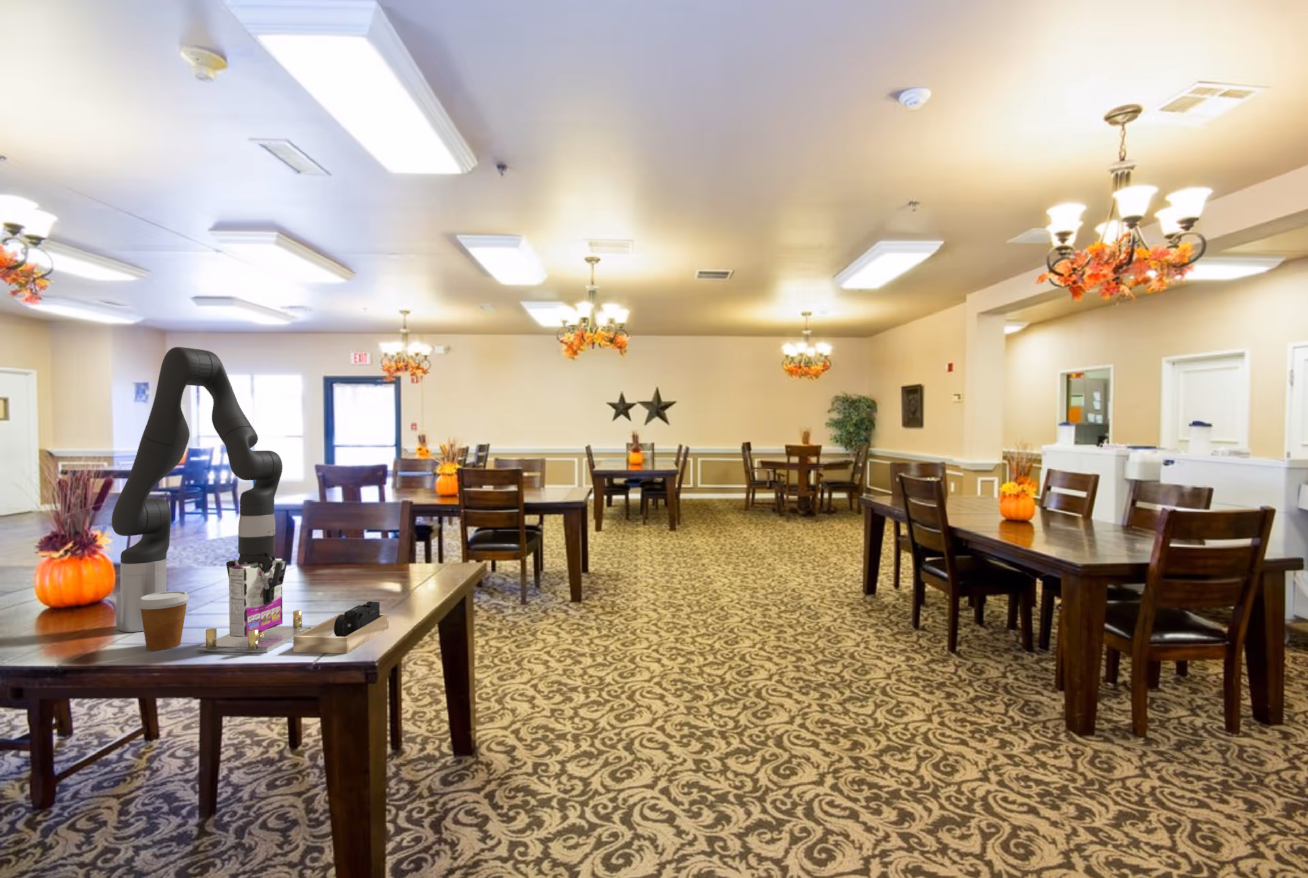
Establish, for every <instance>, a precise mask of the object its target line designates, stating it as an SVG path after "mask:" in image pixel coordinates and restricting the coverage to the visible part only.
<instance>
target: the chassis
mask: <svg viewBox="0 0 1308 878" xmlns="http://www.w3.org/2000/svg"><path fill="white" fill-rule="evenodd" d="M310 628H312V627H310V626H308V627H307V626H303V610H302V609H296V610H293V611H292V626H275V627H273V628H270V629H267V630H265V631H262V632H259V633H258V629H251V630H248V637H233V636H230V633H228V634H225V635H223V636H221V637H219V638H218V637H217V630H218V629H217V627H210V628H207V629H205V643H204V644H201V645H200V646H199V647H197V648H195V649H194V650H195V651H196V652H197V651H200V652H225V653H230V652H231V653H236V652H237V653H265V654H266V653H270V652H271V651H274V650H275V649H277V648H279V647H282V646H283V645H285V644H287V643H290V642H293V637H294V636H296V635H298V634H300V633H302V632H304V631H306V630H308V629H310Z"/></svg>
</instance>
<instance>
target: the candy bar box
mask: <svg viewBox="0 0 1308 878" xmlns="http://www.w3.org/2000/svg"><path fill="white" fill-rule="evenodd" d="M275 560H278V561H283V559H282V558H276V557H275ZM259 567H262V564H259V565H258V564H254V563H250V564H241V565H237V566H232V567H229V576H228V586H229V587H228V590H229V591H228V597H229V602H228V604H229V605H228V607H229V612H228V613H229V615H228V616H229V618H228V619H229V621H228V622H229V634H230V636H233V637H248V630H251V629H258V633H259V632H262V631H265V630H267V629H270V628H273V627H275V626H277V627H279V626H280V625H283V622H284V621H283V584H281V585H278V586H276V587H275V588H274V600H273V601H272V603H271V604H268V605H264V589H265V588H264V585H263V582H262V581H261V580H260V576H261V575H260V568H259ZM273 567H274V565H273V566H272V568H271V569H272V571H273V574H274V570H275V569H273ZM265 575H266V576H267V575H270V570H269V572H268V573H265ZM268 581H269V579H268Z"/></svg>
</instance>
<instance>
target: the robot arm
mask: <svg viewBox="0 0 1308 878" xmlns="http://www.w3.org/2000/svg"><path fill="white" fill-rule="evenodd" d="M187 386H196V387H203V388H204V389H206V390H207V392H208V393H209V394H210V396H211V398H212V400H213V401H212V402H213V403H212V411H211V422H212V425H213V428H214V430H215V432H216V433H217V435H218V437H219V438H220V439H221V441H222V443H223V444H224V446H225V449H226V454H227V457H228V463H229V467H230V469H231V471H232V473H233V475H234V476H236V477H237V478H238V479H240V480H242V481H255V483H254V485H253V487H252V488H249V489H247V490H244V491H243V492H242V493H241V494H240V496H239V519H238V520H239V521H238V527H237V528H238V529H237V530H238V533H237V535H238V537H237V539H238V541H237V543H238V544H237V549H238V551H237V554H239V556H238V559H231V560H229V561H226V563H225V564H226V565H225V566H226V570H227V576H228V577H229V567H232V566H237V565H241V564H250V563H254V564H258V565H259V564H262V567H259V568H260V575H261V576H260V580H261V581H262V582H263V585H264V588H265V589H264V605H268V604H271V603H272V601H273V600H274V588H275V587H276V586H278V585H281V584H282V585H283V583H284V580H285V574H286V569H287V565H288V561H286V560H282V561H278V560H275V558H276V557H275V556H274V555H275V551H276V519H275V495H276V493H277V491H278V487H279V483H280V480H281V478H282V473H283V462H282V459H281V456H280V455H279V454H278V453H277V452H275V451H273V450H252V448H254V446H255V445H257V443H258V441H259V438H258V434H257V432H256V430H255V429H254V427H253V426H252V424H251V423H250V421H249V419H248V418H247V417H246V414H244V411H243V410H242V408H241V406H240V404H239V402H238V400H237V397H236V394H235V392H234V389H233V386H232V384H231V381H230V379H229V376H228V374H227V371H226V369H225V366H224V365H223V363H222V361H221V359H220V357H219V356H218V355H217V354H216V353H214V351H213V352H212V351H210V350H205V349H199V348H191V347H183V346H175V347H172V348H170V349H169V350H168V351H167V352H166V354H165V356H164V357H163V360H162V363H161V366H160V371H159V375H158V381H157V385H156V390H155V395H154V399H153V403H152V406H151V409H150V413H149V417H148V419H147V422H146V424H145V428H144V430H143V433H142V436H141V438H140V441H139V445H138V448H137V451H136V455H135V459H134V461H133V464H132V467H131V470H130V472H129V475H128V477H127V479H126V482H125V484H124V486H123V487H122V489H121V492H120V495H119V497H118V499H117V501H116V503H115V505H114V508H113V511H112V514H111V515H112V516H111V527H112V530H113V532H115V534H117V535H118V536H121V537H135V536H141V535H142V536H141V538H140V539H139V541H138V542H136V543H134V545H132V546H130V547H128V548H126V549H124V550H123V551H122V552H120V568H119V569H120V576H119V577H120V584H119V587H120V588H119V589H120V591H117V592H116V595H115V596H116V601H115V603H116V610H115V613H116V614H115V615H116V616H115V618H116V619H115V627H116V628H115V630H116V631H117V630H118V631H120V632H124V633H128V632H129V633H134V632H135V633H136V632H144V628H143V622H142V615H141V609H140V608H139V606H138V603H139V602H140V599H141V597H143V596H146V595H149V594H154V593H160V592H167V555H168V554H167V552H168V550H169V548H170V543H171V542H170V540H171V527H172V511H171V507H170V504H169V503H168V501H166V499H164V498H161V497H149V495H150V494H151V491H153V489H154V488H155V486H156V485H157V484H158V483H159V482H160V481H161V480H163V478H165V477H166V476H168V475H169V473H170V472H172V471H173V470H174V469H175V468H176V467H177V466H178V465H179V464H180V462H181V461H182V459H183V457H184V456H185V452H186V449H187V446H188V444H189V443H188V442H189V440H190V435H191V433H190V429H189V425H188V423H187V420H186V417H185V415H184V413H183V410H182V400H183V399H182V398H183V395H184V391H185V388H186V387H187ZM273 565H274V567H273V569H275V570H274V574H273V571H272V569H271V568H272V566H273ZM269 570H270V575H267V576H266V575H265V573H268V572H269ZM268 579H269V581H268Z"/></svg>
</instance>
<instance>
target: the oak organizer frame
mask: <svg viewBox="0 0 1308 878" xmlns="http://www.w3.org/2000/svg"><path fill="white" fill-rule="evenodd" d="M344 613H345V612H344ZM344 613H343V612H342V613H339V614H337V615H335V616H334V617H331V618H329V619H327V620H325V621H323V622H320V623H319V624H317V625H315V626H312V627H311V628H310V629H308V630H306V631H304V632H302V633H300V634H298V635H296V636H294V637H293V640H292V642H293V644H292V645H293V647H292V649H293V651H292V652H293V653H316V654H317V653H320V654H321V653H322V654H349V653H350V652H351V651H353V650H355V649H357V648H358V647H359V646H361V645H363V644H364V643H366V642H368V641H370V639H372V638H374V637H375V636H377V635H379V634H381V633H383V632H384V631H385V630H387V629H389V627H390V626H389V616H390V615H389V613H380V618H378V619H376V620H374V621H373V622H371V623H369V624H367V625H365V626H364V627H362V628H360V629H358V630H357V631H355V632H353V633H351V634H349V635H348V636H346V637H337V636H330V635H332V634H334V624H335V621H336V618H337V617H338V616H339V615H341V614H344Z"/></svg>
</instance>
